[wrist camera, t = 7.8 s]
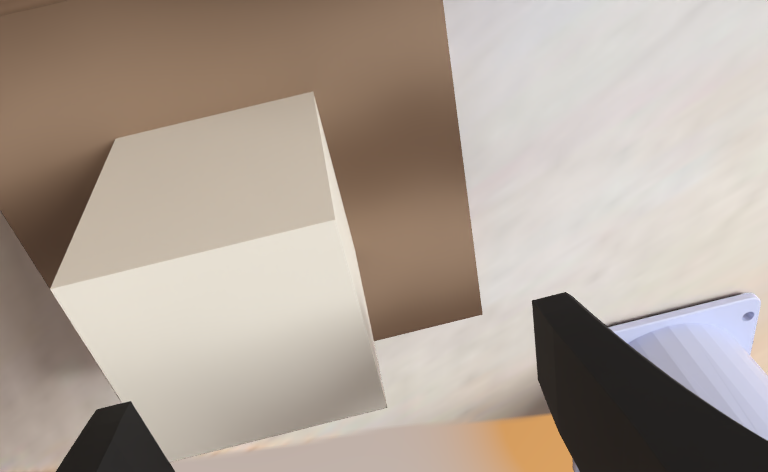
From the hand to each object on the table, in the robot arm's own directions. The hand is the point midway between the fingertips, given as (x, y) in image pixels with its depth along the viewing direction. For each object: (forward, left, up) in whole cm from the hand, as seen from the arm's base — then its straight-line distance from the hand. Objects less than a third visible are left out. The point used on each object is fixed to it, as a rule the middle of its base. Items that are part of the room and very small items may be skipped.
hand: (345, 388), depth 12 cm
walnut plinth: (0, +2, -10) cm, 10 cm away
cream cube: (0, +2, -7) cm, 8 cm away
